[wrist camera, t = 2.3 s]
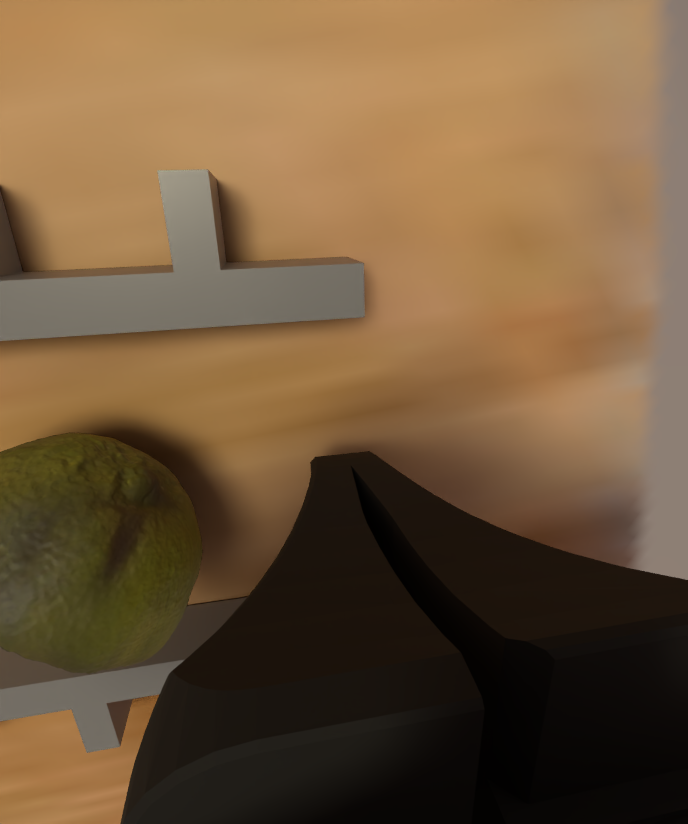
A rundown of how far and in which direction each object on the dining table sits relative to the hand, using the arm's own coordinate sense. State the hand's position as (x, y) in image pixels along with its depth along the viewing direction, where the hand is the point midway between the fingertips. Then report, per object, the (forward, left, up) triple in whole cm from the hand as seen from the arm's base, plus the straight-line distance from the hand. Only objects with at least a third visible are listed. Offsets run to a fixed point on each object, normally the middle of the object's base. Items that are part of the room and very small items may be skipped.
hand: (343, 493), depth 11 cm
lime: (0, +5, -2) cm, 6 cm away
